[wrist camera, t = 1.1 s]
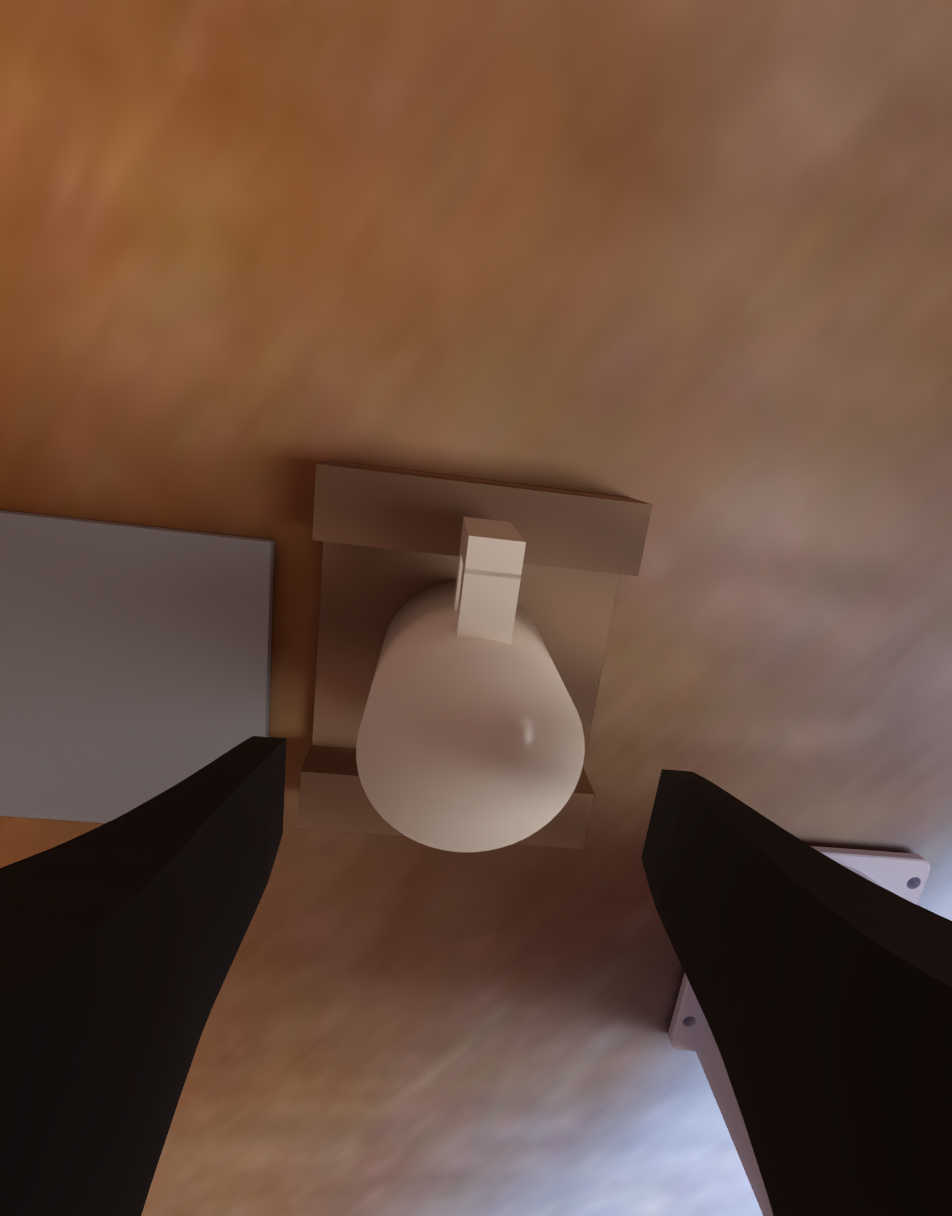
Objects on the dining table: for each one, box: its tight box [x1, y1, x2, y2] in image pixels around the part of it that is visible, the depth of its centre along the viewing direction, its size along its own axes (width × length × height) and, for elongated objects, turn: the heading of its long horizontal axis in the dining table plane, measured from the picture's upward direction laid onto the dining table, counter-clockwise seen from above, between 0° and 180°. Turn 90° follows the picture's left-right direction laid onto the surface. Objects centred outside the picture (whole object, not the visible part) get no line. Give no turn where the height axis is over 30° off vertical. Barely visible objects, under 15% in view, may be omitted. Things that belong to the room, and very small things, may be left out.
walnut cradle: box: [298, 461, 652, 849], centre depth 18 cm, size 11×9×2 cm
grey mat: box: [0, 510, 275, 823], centre depth 19 cm, size 10×10×1 cm
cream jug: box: [356, 517, 585, 852], centre depth 16 cm, size 7×5×6 cm
